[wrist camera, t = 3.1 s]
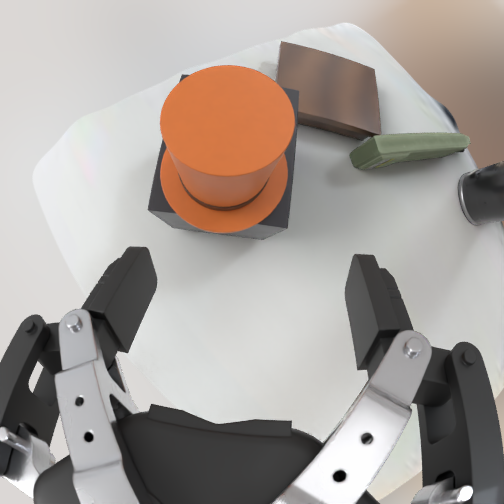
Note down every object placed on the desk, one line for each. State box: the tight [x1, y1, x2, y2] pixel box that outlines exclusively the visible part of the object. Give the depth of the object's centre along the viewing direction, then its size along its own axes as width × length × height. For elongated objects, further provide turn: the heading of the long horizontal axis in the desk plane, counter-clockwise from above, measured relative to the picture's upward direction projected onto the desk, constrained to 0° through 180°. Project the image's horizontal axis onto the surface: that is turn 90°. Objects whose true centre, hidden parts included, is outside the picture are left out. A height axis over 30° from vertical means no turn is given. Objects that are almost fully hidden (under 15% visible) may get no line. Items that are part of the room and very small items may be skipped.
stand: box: [276, 41, 381, 141], centre depth 31 cm, size 14×12×4 cm
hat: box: [160, 65, 295, 233], centre depth 15 cm, size 9×9×8 cm
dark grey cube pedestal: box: [148, 75, 299, 240], centre depth 25 cm, size 10×12×12 cm
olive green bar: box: [350, 133, 470, 170], centre depth 31 cm, size 7×3×25 cm
